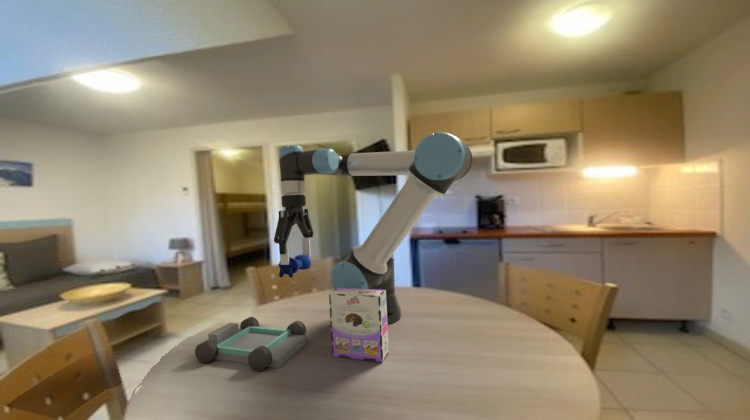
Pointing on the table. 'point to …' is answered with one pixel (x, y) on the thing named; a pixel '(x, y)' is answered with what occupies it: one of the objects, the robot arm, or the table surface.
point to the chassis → (252, 344)
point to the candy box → (359, 323)
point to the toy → (295, 265)
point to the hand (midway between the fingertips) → (296, 260)
